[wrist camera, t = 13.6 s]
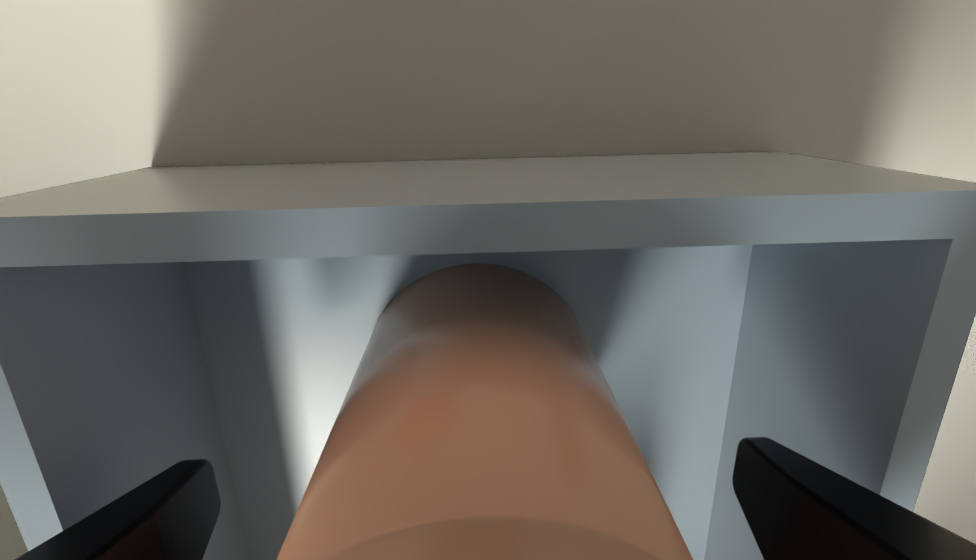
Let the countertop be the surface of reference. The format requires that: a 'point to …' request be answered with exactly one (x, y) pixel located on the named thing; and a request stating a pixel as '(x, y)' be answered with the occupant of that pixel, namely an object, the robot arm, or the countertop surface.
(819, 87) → the countertop surface
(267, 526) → the box
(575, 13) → the countertop surface
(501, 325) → the cylinder
